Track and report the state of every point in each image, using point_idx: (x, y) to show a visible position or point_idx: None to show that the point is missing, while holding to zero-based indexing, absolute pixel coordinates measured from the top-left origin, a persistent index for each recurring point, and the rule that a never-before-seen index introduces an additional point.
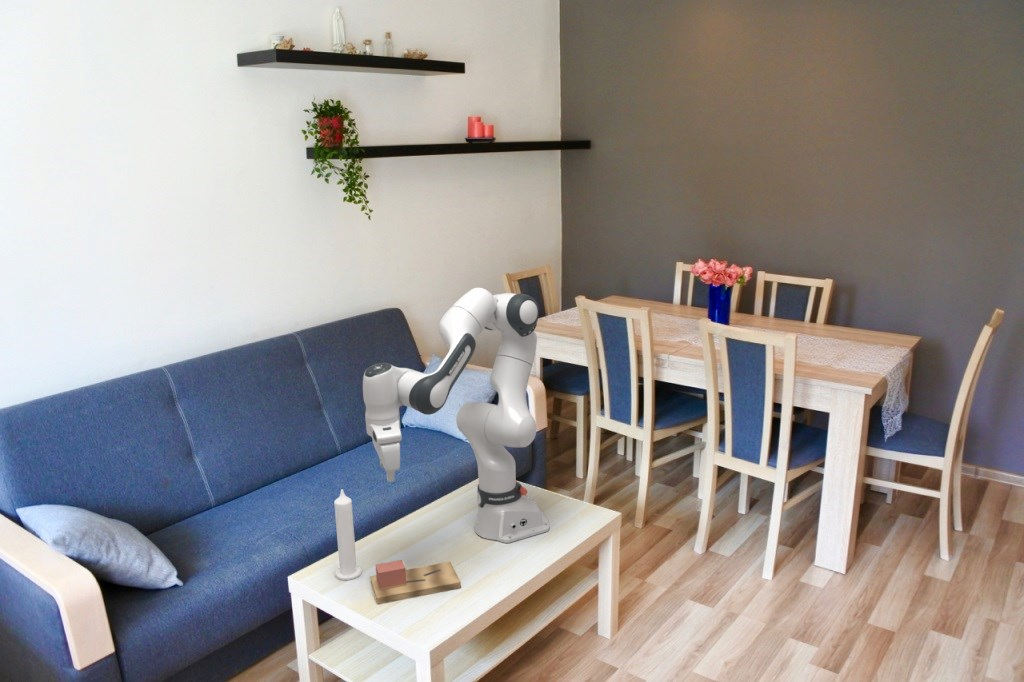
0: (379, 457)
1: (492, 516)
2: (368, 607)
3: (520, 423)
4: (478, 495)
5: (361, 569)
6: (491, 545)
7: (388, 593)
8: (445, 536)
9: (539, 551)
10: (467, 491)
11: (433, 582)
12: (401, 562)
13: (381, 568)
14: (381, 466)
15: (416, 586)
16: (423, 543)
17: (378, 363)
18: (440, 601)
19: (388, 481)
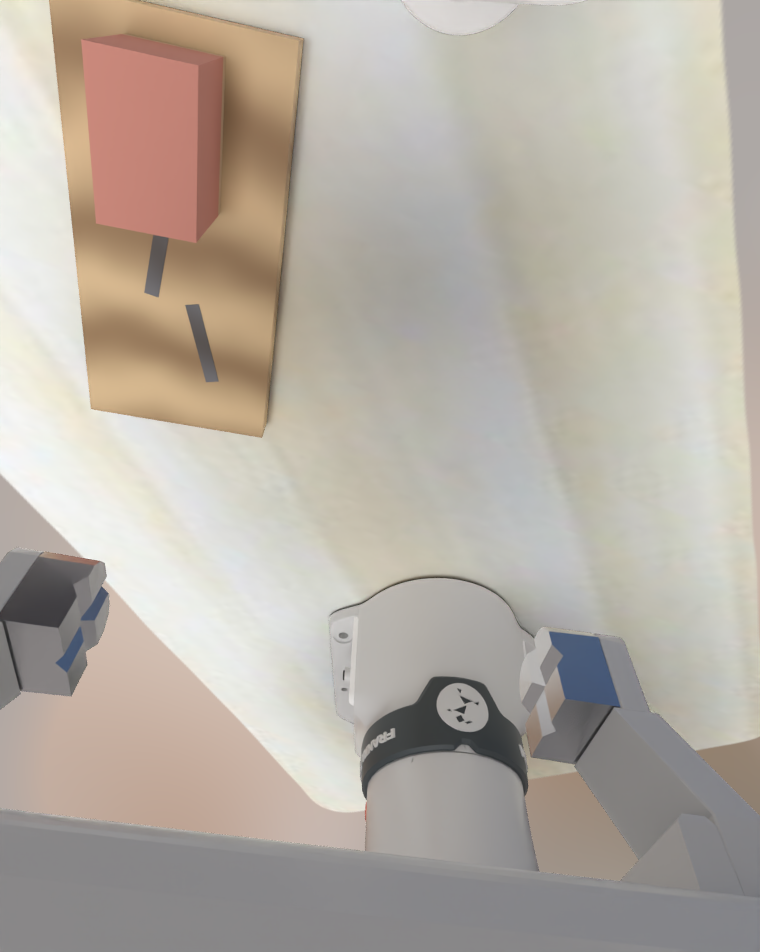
0: (263, 867)
1: (383, 670)
2: None
3: None
4: (456, 718)
5: (440, 31)
6: (345, 579)
7: (78, 71)
8: (501, 495)
9: (240, 653)
10: (741, 660)
11: (119, 317)
12: (164, 228)
13: (133, 83)
14: (547, 637)
15: (108, 236)
16: (506, 410)
17: None
18: (21, 289)
19: (12, 552)
